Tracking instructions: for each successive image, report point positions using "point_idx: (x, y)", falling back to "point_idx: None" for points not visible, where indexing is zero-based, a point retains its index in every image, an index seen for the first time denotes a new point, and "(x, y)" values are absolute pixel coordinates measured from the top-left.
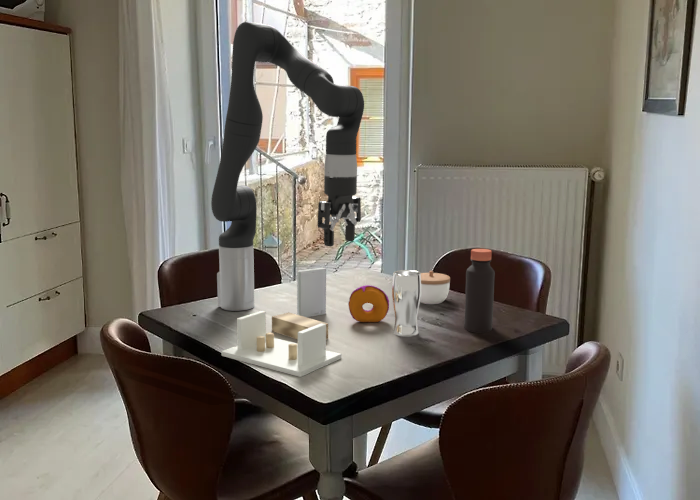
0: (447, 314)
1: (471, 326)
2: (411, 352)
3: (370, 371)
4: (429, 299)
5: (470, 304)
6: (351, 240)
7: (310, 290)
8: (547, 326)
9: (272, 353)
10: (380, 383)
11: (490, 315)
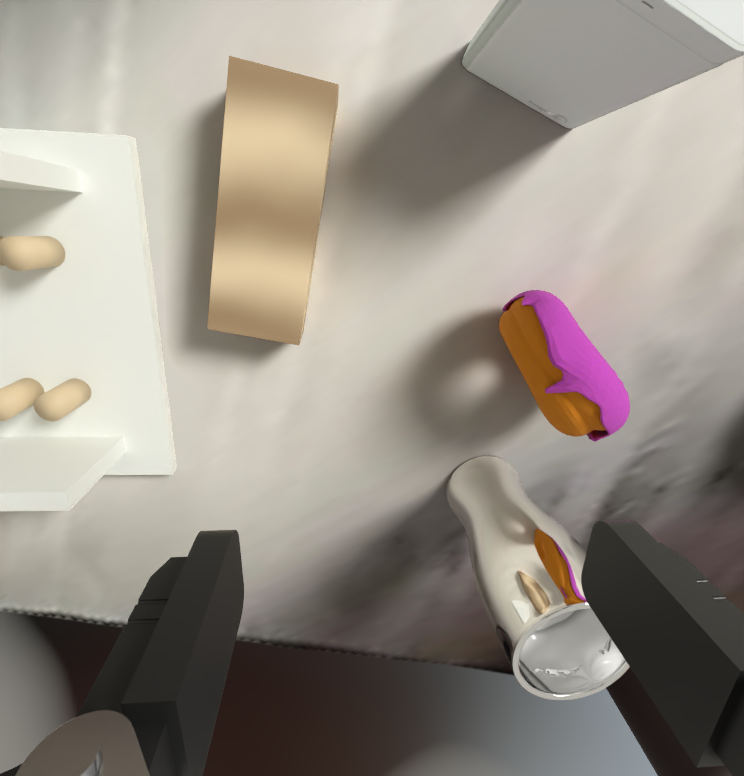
0: (723, 488)
1: None
2: (340, 571)
3: (152, 569)
4: None
5: None
6: (585, 583)
7: (562, 47)
8: None
9: (8, 306)
10: (106, 619)
11: None
